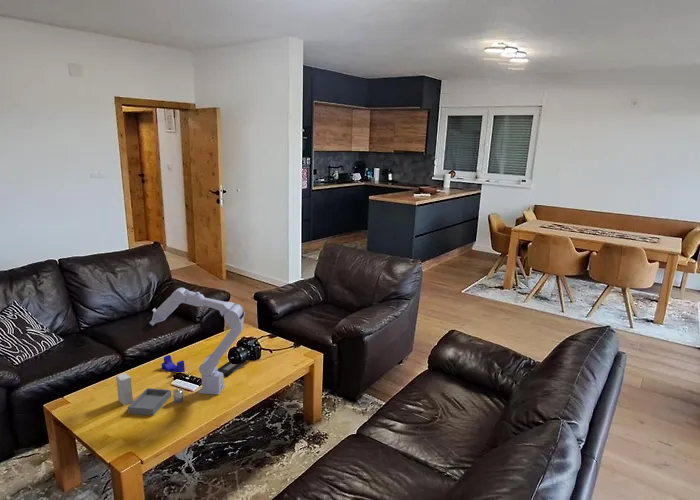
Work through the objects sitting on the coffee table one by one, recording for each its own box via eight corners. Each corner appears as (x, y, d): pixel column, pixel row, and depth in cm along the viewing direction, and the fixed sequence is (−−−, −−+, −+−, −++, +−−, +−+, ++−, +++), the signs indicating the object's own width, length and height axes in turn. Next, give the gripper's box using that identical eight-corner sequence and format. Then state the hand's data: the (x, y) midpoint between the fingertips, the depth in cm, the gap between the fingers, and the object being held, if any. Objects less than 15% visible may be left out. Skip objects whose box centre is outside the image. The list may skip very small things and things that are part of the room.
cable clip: (161, 368, 227) (161, 358, 225) (169, 365, 230) (168, 354, 229) (177, 375, 220) (176, 364, 219) (184, 371, 224) (184, 361, 223)
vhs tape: (244, 365, 232) (244, 362, 232) (226, 378, 220) (226, 374, 219) (232, 362, 235) (232, 359, 235) (214, 374, 222) (214, 371, 222)
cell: (185, 399, 200) (184, 388, 199) (181, 404, 196) (180, 392, 195) (176, 398, 200) (175, 387, 199) (172, 403, 197) (171, 392, 195)
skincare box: (133, 401, 197) (131, 377, 194) (123, 405, 194) (120, 380, 191) (128, 396, 201) (125, 372, 198) (118, 400, 198) (115, 375, 195)
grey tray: (171, 395, 202) (170, 389, 202) (153, 415, 188) (152, 409, 187) (147, 394, 203) (147, 388, 203) (128, 413, 189) (127, 407, 188)
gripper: (166, 296, 206) (147, 315, 208) (153, 308, 192) (133, 328, 194) (178, 306, 207) (159, 325, 210) (165, 319, 193) (145, 339, 196)
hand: (147, 327), depth 202 cm, fingers open, 7 cm apart
